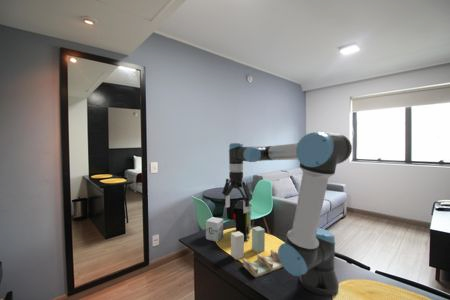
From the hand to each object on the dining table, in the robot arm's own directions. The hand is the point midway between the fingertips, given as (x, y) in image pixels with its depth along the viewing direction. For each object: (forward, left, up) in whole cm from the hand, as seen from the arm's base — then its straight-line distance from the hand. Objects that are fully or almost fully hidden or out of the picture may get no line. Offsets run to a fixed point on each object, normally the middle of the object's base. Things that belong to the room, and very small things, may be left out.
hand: (236, 209), depth 114 cm
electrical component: (+16, -15, -24) cm, 32 cm away
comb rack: (-18, -5, -23) cm, 30 cm away
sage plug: (-4, -12, -23) cm, 27 cm away
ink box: (+21, +3, -24) cm, 32 cm away
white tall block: (-4, +2, -23) cm, 24 cm away
